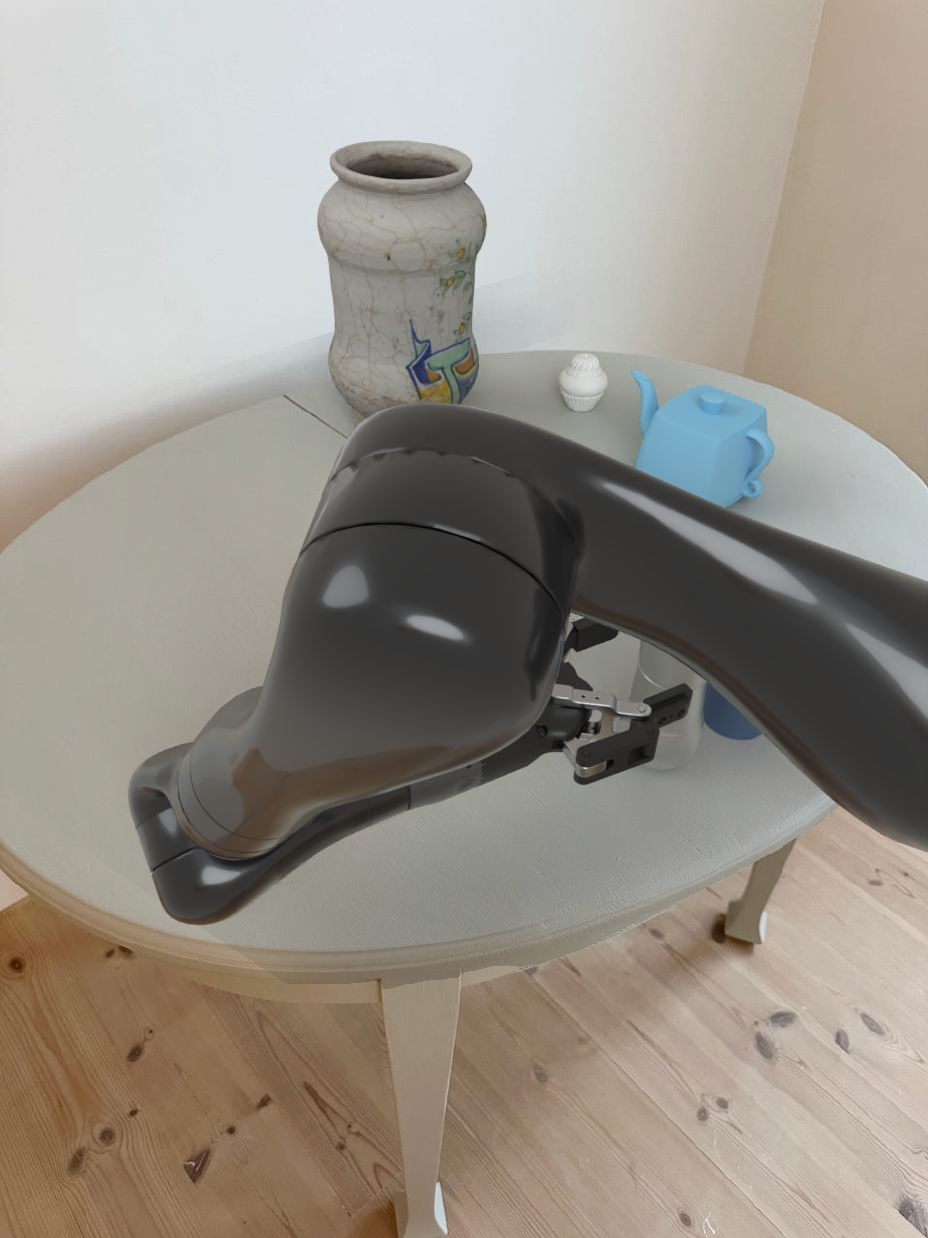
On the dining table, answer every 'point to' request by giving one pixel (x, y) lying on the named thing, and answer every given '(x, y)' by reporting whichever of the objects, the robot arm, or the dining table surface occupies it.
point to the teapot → (704, 442)
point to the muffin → (582, 382)
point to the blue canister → (726, 717)
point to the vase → (401, 274)
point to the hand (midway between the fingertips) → (650, 658)
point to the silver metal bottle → (656, 677)
